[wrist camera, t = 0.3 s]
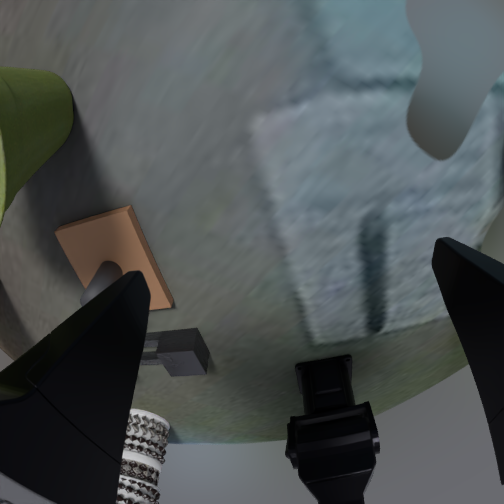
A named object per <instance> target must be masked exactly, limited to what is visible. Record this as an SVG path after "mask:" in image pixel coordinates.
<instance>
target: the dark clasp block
mask: <svg viewBox="0 0 504 504" xmlns="http://www.w3.org/2000/svg"><path fill="white" fill-rule="evenodd" d="M152 346H157V350H156V351H154V352H143V353H142V357H141V361H140V365H155V364H163V365H164V367H165V368H166V370H167V371H168V373H169V374H170V375H171V376H190V375H205V374H207V367H208V359H209V350H208V348H207V346H206V345H205V343H204V341H203V339H202V337H201V334H200V332H199V330H198V328H191V329H182V330H172V331H162V332H152V333H146V339H145V344H144V347H152Z"/></svg>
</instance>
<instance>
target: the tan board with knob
mask: <svg viewBox="0 0 504 504" xmlns="http://www.w3.org/2000/svg"><path fill="white" fill-rule="evenodd" d="M54 233H55V235H56V237H57V239H58V241H59V243H60V245H61V246H62V248H63V250H64V252H65V254H66V256H67V258H68V259H69V261H70V263H71V265H72V267H73V268H74V270H75V272H76V274H77V275H78V277H79V279H80V281H81V282H82V284H83V286H84V287H85V289H86V290H85V291H84V293H83V295H82V297H81V299H80V303H81V305H82V307H83V306H84V305H85V304H86V303H88V302H89V301H90V300H91V299H93V298H94V297H95V296H97V295H98V294H99V293H100V292H102V291H103V290H104V289H106V288H107V287H108V286H110V285H111V284H112V283H113V282H115V281H116V280H117V279H119V278H120V277H121V276H123V275H124V274H125V273H127V272H128V271H135V270H140V271H142V273H143V275H144V277H145V280H146V282H147V285H148V287H149V290H150V293H151V301H150V309H149V310H154V309H162V308H170V307H172V304H173V298H172V296H171V294H170V292H169V290H168V288H167V285H166V283H165V281H164V279H163V277H162V275H161V273H160V270H159V268H158V266H157V264H156V262H155V260H154V257H153V255H152V253H151V251H150V248H149V246H148V244H147V242H146V239H145V237H144V235H143V232H142V230H141V228H140V225H139V223H138V221H137V218H136V216H135V213H134V211H133V208H132V206H131V205H130V206H126V207H123V208H119V209H115V210H112V211H108V212H105V213H102V214H98V215H95V216H91V217H88V218H85V219H82V220H78V221H75V222H72V223H69V224H66V225H62V226H59V227H58V228H57V230H56V231H55V232H54Z"/></svg>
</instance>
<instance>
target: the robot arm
mask: <svg viewBox="0 0 504 504" xmlns="http://www.w3.org/2000/svg"><path fill="white" fill-rule="evenodd" d="M432 268H433V271H434V274H435V277H436V279H437V282H438V285H439V288H440V291H441V294H442V297H443V300H444V302H445V305H446V308H447V310H448V313H449V315H450V317H451V320H452V322H453V324H454V327H455V329H456V332H457V334H458V336H459V339H460V341H461V344H462V347H463V349H464V352H465V354H466V357H467V360H468V362H469V365H470V368H471V370H472V374H473V376H474V379H475V382H476V385H477V388H478V391H479V395H480V398H481V401H482V404H483V407H484V411H485V414H486V418H487V422H488V424H489V430H490V434H491V438H492V442H493V446H494V450H495V455H496V459H497V464H498V470H499V475H500V480H501V484H502V485H504V264H502V263H501V262H499V261H497V260H495V259H493V258H491V257H489V256H487V255H485V254H483V253H481V252H479V251H477V250H475V249H473V248H471V247H469V246H467V245H465V244H462V243H460V242H458V241H456V240H454V239H452V238H450V237H443V238H438V239H437V240H436V242H435V247H434V252H433V257H432ZM150 301H151V293H150V290H149V287H148V285H147V282H146V280H145V277H144V275H143V273H142V271H140V270H135V271H128V272H127V273H125V274H124V275H123V276H121V277H120V278H119V279H117V280H116V281H115V282H113V283H112V284H111V285H110V286H108V287H107V288H106V289H104V290H103V291H102V292H100V293H99V294H98V295H97V296H95V297H94V298H93V299H91V300H90V301H89V302H88V303H86V304H85V305H84V306H83V307H81V308H80V309H79V310H78V311H76V312H75V313H74V314H73V315H71V316H70V317H69V318H68V319H66V320H65V321H64V322H63V323H61V324H60V325H59V326H58V327H57V328H55V329H54V330H53V331H52V332H51V334H48V335H47V336H46V337H44V338H43V339H42V340H41V341H39V342H38V343H37V344H36V345H35V346H33V347H32V348H31V349H30V350H28V351H27V352H26V353H24V354H23V355H22V356H21V357H19V358H18V359H17V360H15V361H14V362H13V363H11V364H10V365H9V366H7V367H6V368H5V369H3V370H2V371H1V372H0V504H116V502H117V494H118V486H119V478H120V471H121V463H122V456H123V450H124V443H125V437H126V432H127V426H128V420H129V415H130V410H131V404H132V399H133V394H134V389H135V384H136V380H137V375H138V370H139V366H140V361H141V357H142V353H143V348H144V344H145V339H146V332H147V324H148V316H149V309H150ZM295 370H296V375H297V379H298V384H299V389H300V393H301V394H303V403H304V413H305V415H302V416H291V417H290V423H288V424H287V432H288V438H287V445H286V451H285V455H286V457H287V458H288V459H290V461H291V463H292V465H293V468H294V469H298V475H299V478H300V479H301V481H302V483H303V484H304V486H305V487H306V488H307V490H308V491H309V492H310V493H311V494H312V496H313V497H314V498H315V499H316V500H317V502H318V504H364V493H365V491H366V489H367V487H368V485H369V483H370V481H371V479H372V476H373V473H374V469H375V465H376V457H375V454H379V453H380V443H379V436H378V431H377V427H376V423H375V420H374V416H373V413H372V410H371V406H370V403H369V401H367V402H364V403H362V404H358V405H355V400H354V395H353V391H352V386H351V379H352V356H351V355H344V356H338V357H333V358H328V359H322V360H316V361H310V362H304V363H298V364H296V365H295Z"/></svg>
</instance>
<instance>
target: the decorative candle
mask: <svg viewBox="0 0 504 504" xmlns="http://www.w3.org/2000/svg"><path fill="white" fill-rule="evenodd" d="M169 429H170V425H169V422H168V421H166V420H165V419H164V418H162V417H161V416H159V415H157V414H154V413H151V412H148V411H145V410H140V409H131V410H130V415H129V420H128V426H127V432H126V437H125V443H124V450H123V456H122V463H121V471H120V478H119V486H118V494H117V502H116V504H159V503H158V502H157V501H156V500H158V499H159V497H160V494H159V492H160V488H159V487H158V486H157V483H158V480H159V474H160V473H161V469H162V464H163V463H164V462H165V460H164V458H163V456H164V455H165V454H166V451H165V449H164V448H165V447H166V446H167V445H168V440H167V438H168V437H169V432H168V430H169Z"/></svg>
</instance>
